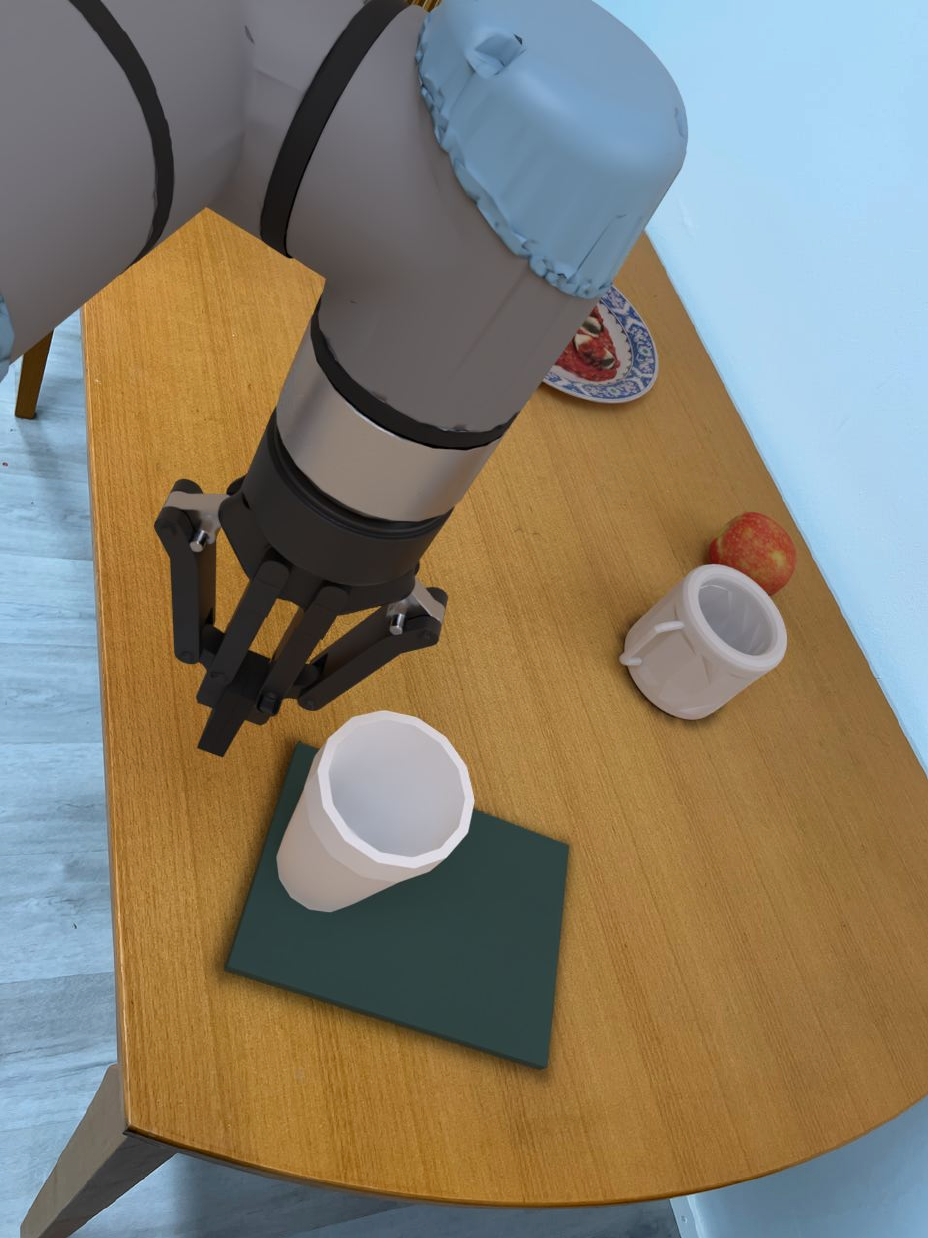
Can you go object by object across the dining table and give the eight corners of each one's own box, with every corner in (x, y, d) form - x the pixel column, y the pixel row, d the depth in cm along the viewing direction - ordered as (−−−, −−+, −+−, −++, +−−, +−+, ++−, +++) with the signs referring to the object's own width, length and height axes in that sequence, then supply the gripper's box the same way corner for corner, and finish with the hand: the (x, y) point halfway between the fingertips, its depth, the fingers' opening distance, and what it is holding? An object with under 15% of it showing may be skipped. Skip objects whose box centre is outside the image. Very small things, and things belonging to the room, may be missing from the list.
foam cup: (400, 929, 64) (489, 862, 54) (262, 945, 60) (333, 875, 50) (375, 794, 69) (453, 710, 59) (246, 799, 64) (308, 709, 55)
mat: (223, 970, 59) (227, 966, 58) (294, 747, 69) (298, 741, 68) (540, 1070, 64) (547, 1068, 63) (562, 849, 74) (569, 845, 73)
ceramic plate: (645, 310, 124) (659, 292, 121) (651, 448, 108) (666, 430, 106) (463, 219, 116) (474, 198, 114) (441, 353, 100) (453, 331, 98)
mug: (690, 618, 95) (756, 560, 88) (736, 717, 91) (810, 664, 83) (580, 623, 88) (643, 560, 81) (624, 730, 84) (694, 674, 76)
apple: (714, 534, 105) (763, 487, 99) (771, 589, 104) (824, 545, 98) (683, 566, 99) (733, 519, 93) (743, 624, 98) (797, 581, 92)
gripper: (538, 456, 40) (344, 718, 57) (234, 308, 36) (127, 633, 54) (515, 593, 35) (311, 833, 52) (163, 436, 32) (70, 747, 49)
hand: (217, 731), depth 53 cm, fingers closed
